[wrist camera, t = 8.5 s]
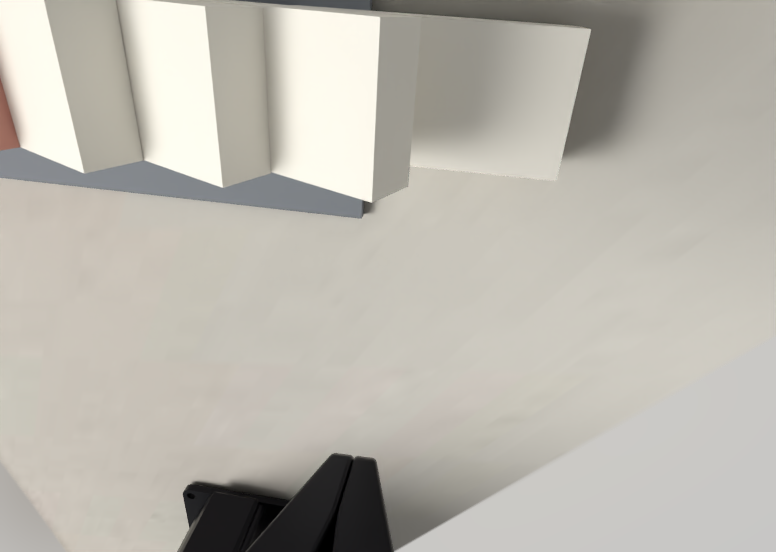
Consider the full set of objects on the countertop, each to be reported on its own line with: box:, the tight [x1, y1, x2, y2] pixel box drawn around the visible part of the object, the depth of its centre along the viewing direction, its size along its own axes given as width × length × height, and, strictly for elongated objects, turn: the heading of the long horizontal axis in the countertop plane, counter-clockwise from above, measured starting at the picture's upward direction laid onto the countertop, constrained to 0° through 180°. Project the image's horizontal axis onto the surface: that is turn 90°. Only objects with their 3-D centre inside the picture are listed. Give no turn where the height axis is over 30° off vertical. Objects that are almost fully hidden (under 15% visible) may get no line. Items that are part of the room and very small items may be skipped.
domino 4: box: [292, 5, 591, 181], centre depth 17 cm, size 4×2×9 cm
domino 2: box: [116, 0, 271, 188], centre depth 16 cm, size 4×2×9 cm
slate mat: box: [0, 0, 372, 218], centre depth 19 cm, size 10×23×1 cm, turn 87°
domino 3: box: [194, 0, 422, 203], centre depth 15 cm, size 4×2×9 cm
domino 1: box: [0, 0, 143, 174], centre depth 16 cm, size 4×2×9 cm
